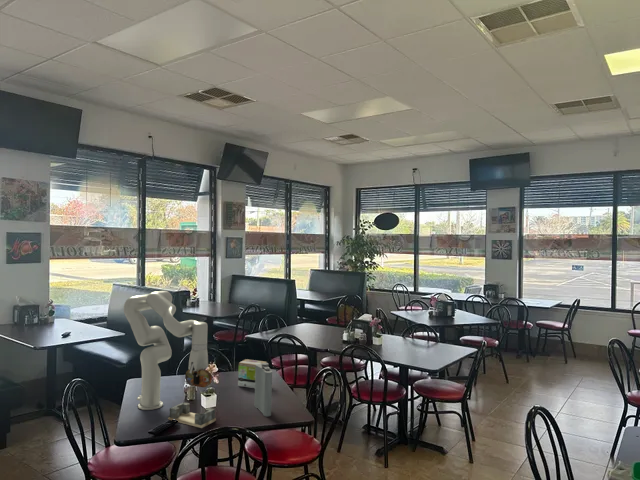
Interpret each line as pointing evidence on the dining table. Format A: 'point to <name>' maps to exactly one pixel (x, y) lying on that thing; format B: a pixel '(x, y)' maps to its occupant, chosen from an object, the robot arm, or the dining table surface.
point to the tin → (204, 378)
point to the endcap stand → (191, 415)
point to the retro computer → (247, 373)
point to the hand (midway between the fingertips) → (198, 382)
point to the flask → (263, 388)
